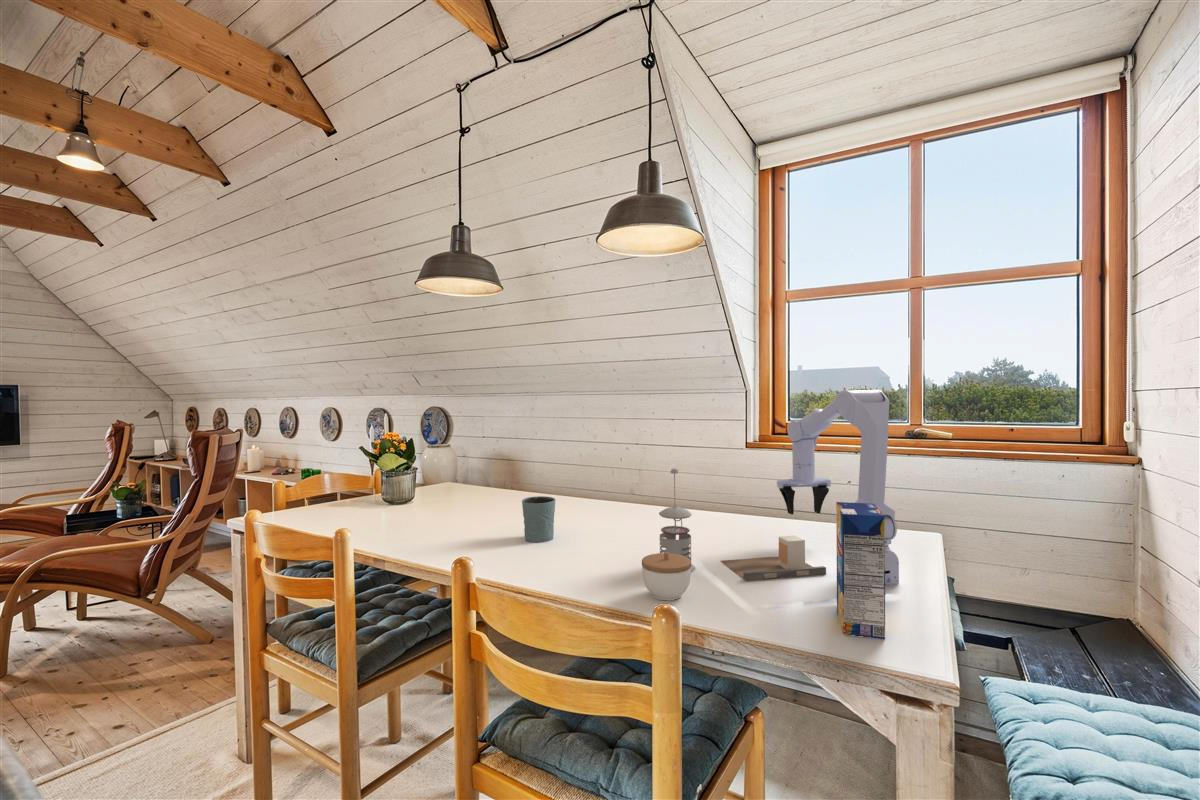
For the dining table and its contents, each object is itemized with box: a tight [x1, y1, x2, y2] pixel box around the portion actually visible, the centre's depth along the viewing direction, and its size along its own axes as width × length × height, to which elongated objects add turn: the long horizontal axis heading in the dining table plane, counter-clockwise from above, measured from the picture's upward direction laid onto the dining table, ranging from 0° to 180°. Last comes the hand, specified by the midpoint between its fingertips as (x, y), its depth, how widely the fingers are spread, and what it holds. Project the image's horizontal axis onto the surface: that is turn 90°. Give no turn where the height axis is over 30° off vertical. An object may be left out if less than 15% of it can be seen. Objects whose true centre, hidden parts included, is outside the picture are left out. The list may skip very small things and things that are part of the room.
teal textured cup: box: [521, 495, 556, 544], centre depth 168 cm, size 10×10×12 cm
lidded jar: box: [641, 552, 692, 602], centre depth 121 cm, size 11×11×9 cm
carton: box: [778, 535, 806, 569], centre depth 134 cm, size 5×4×7 cm
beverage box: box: [835, 501, 886, 640], centre depth 104 cm, size 7×11×22 cm, turn 162°
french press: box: [658, 468, 696, 573], centre depth 140 cm, size 10×12×25 cm
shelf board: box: [719, 555, 827, 582], centre depth 135 cm, size 15×20×3 cm
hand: (803, 513), depth 153 cm, fingers open, 7 cm apart
